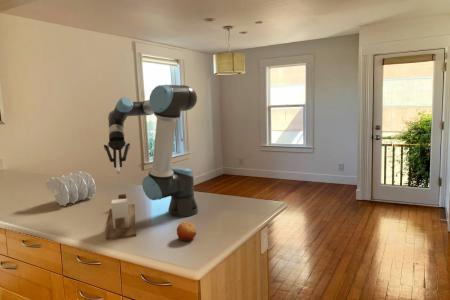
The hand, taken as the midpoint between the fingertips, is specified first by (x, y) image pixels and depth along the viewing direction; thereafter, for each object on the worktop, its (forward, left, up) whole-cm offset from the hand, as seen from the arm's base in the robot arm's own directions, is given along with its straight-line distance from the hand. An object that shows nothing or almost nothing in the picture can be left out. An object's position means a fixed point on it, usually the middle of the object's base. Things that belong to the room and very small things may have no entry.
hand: (118, 172), depth 163 cm
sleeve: (0, +15, -22) cm, 27 cm away
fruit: (-26, +35, -24) cm, 50 cm away
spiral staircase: (+28, -45, -24) cm, 58 cm away
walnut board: (0, +1, -24) cm, 24 cm away
